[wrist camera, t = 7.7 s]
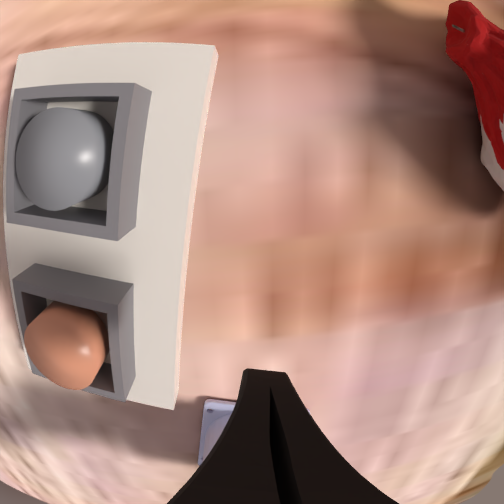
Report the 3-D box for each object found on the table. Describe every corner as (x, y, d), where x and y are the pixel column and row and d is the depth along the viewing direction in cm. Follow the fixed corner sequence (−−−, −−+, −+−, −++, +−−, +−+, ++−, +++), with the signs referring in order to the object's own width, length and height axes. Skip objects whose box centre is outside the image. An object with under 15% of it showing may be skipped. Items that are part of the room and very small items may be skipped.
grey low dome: (113, 204, 15) (91, 216, 12) (41, 195, 14) (14, 205, 12) (124, 111, 13) (101, 106, 11) (48, 110, 13) (20, 109, 11)
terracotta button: (113, 371, 17) (99, 398, 15) (51, 353, 17) (33, 376, 15) (107, 307, 16) (89, 332, 13) (40, 291, 15) (17, 311, 13)
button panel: (178, 391, 22) (167, 436, 17) (40, 354, 21) (13, 388, 17) (218, 55, 15) (208, 28, 10) (36, 59, 14) (-7, 48, 10)
